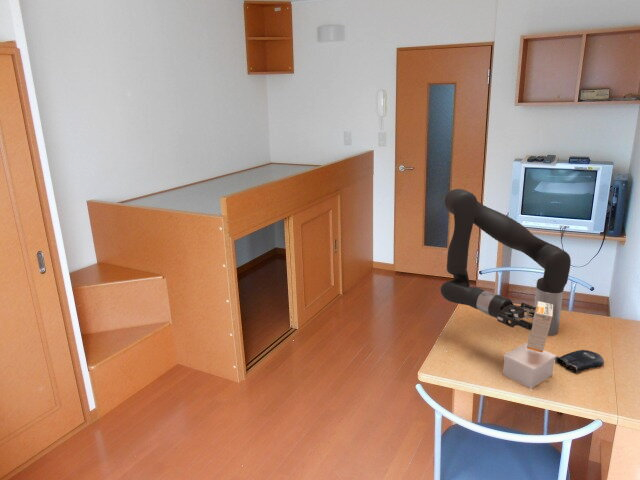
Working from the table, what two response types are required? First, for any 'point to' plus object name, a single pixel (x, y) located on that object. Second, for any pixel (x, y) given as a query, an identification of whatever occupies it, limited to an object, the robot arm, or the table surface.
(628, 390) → the table surface
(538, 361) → the storage box
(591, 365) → the electronic device
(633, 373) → the table surface
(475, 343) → the table surface
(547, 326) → the supplement box
